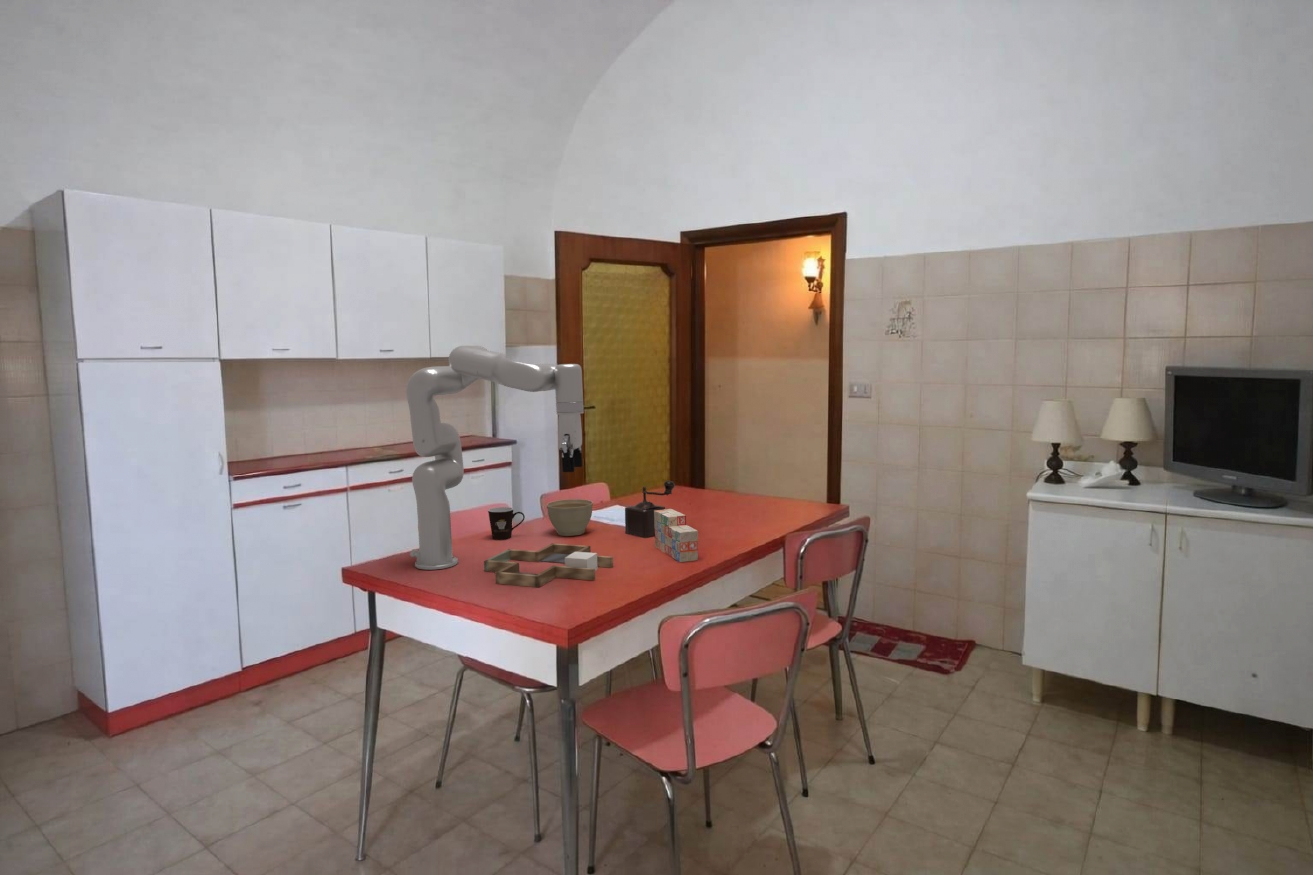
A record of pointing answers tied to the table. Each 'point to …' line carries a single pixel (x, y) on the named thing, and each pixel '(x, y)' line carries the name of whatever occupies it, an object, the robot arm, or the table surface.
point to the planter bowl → (570, 516)
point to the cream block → (582, 560)
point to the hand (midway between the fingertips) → (572, 469)
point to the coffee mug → (502, 522)
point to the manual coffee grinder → (644, 514)
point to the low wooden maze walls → (550, 553)
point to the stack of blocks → (675, 535)
